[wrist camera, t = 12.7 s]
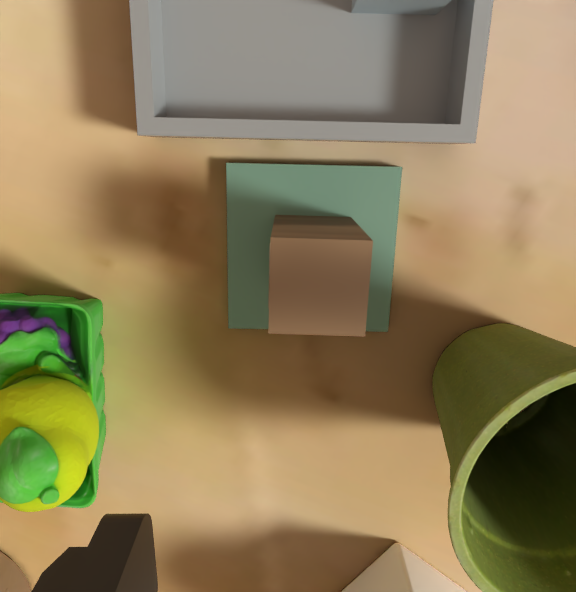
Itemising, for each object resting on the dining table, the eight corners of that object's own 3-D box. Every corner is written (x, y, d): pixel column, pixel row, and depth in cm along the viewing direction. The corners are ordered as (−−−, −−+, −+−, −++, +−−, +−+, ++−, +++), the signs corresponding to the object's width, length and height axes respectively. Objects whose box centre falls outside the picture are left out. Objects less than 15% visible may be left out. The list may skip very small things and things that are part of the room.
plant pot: (615, 292, 28) (822, 381, 17) (559, 469, 31) (702, 639, 20) (410, 269, 27) (488, 346, 17) (375, 451, 31) (422, 614, 20)
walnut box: (273, 214, 26) (268, 237, 19) (351, 217, 26) (373, 240, 19) (271, 287, 27) (266, 333, 20) (345, 290, 27) (365, 336, 20)
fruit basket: (-13, 268, 28) (-207, 344, 17) (145, 280, 28) (54, 364, 17) (4, 444, 31) (-149, 604, 20) (146, 454, 31) (70, 617, 20)
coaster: (230, 323, 28) (228, 328, 28) (228, 162, 26) (226, 162, 25) (385, 326, 28) (387, 331, 28) (398, 166, 26) (402, 166, 25)
